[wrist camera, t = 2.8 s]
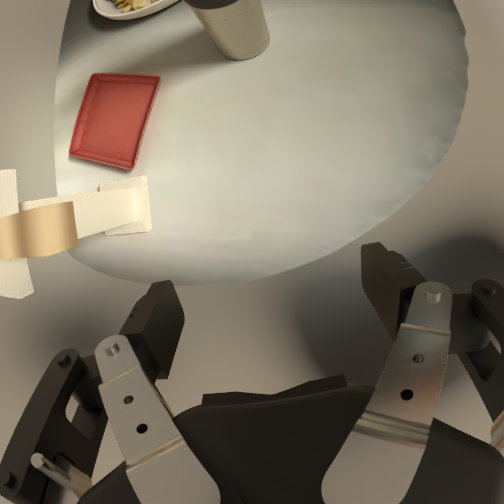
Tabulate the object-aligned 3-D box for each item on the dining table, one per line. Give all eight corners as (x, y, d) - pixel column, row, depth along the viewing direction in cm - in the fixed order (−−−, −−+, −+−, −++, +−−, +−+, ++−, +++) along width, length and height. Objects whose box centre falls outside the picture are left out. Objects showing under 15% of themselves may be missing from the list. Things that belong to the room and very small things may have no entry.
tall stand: (155, 168, 47) (0, 170, 16) (162, 234, 50) (20, 299, 19) (97, 180, 50) (-42, 197, 19) (104, 239, 52) (-26, 290, 22)
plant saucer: (169, 80, 43) (162, 74, 40) (142, 171, 48) (132, 171, 45) (100, 76, 45) (91, 72, 41) (78, 155, 50) (67, 155, 46)
